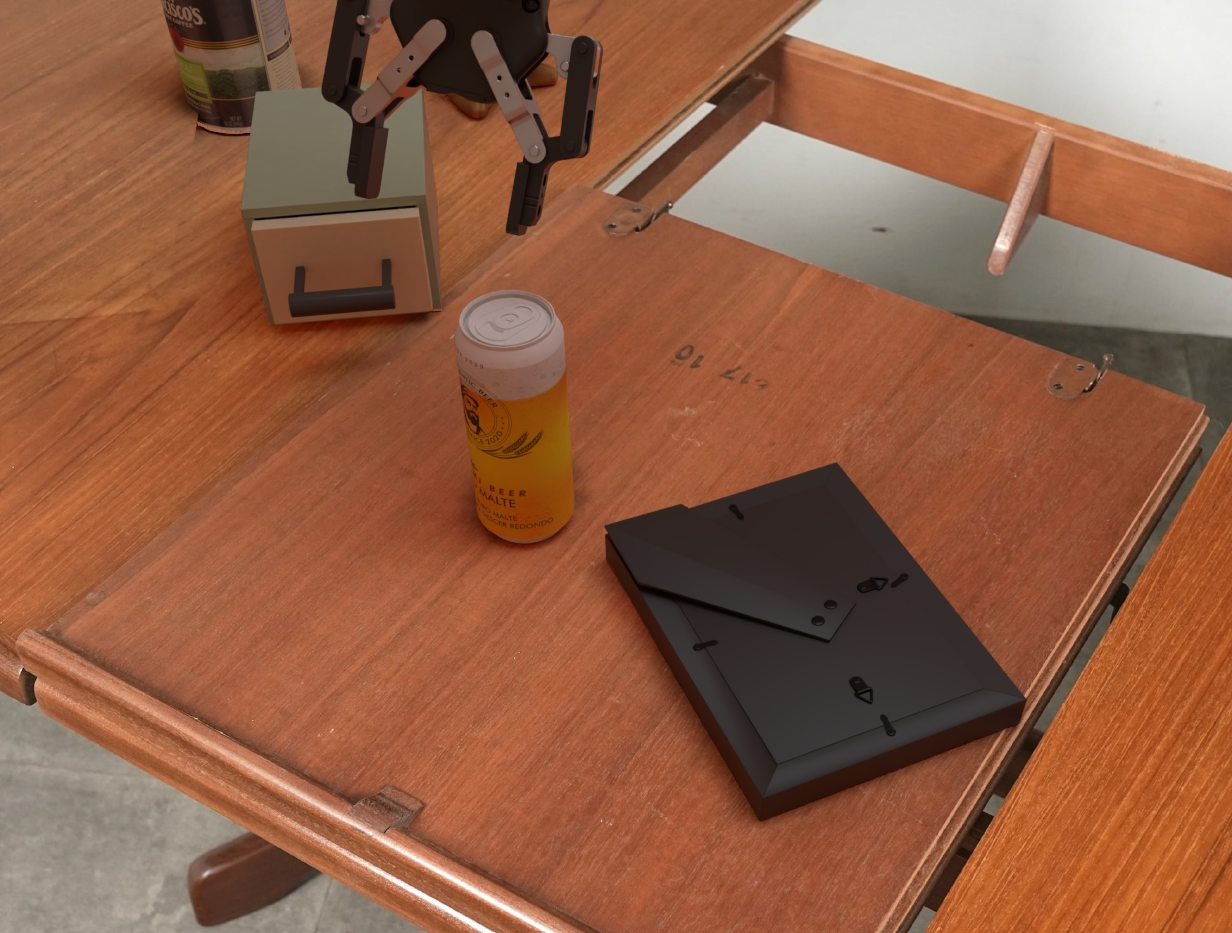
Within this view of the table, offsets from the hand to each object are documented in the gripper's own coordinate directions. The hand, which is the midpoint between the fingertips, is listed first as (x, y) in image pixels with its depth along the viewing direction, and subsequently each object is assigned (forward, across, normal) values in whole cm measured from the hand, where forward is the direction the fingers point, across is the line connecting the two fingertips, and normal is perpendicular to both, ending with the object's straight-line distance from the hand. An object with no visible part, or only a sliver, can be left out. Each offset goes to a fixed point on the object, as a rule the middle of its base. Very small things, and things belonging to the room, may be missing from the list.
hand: (441, 215), depth 74 cm
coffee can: (0, -33, +48) cm, 58 cm away
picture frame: (+18, +25, +1) cm, 31 cm away
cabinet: (+8, -15, +30) cm, 34 cm away
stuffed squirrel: (-6, -14, +55) cm, 57 cm away
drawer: (+9, -13, +26) cm, 30 cm away
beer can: (+18, +7, +7) cm, 20 cm away
